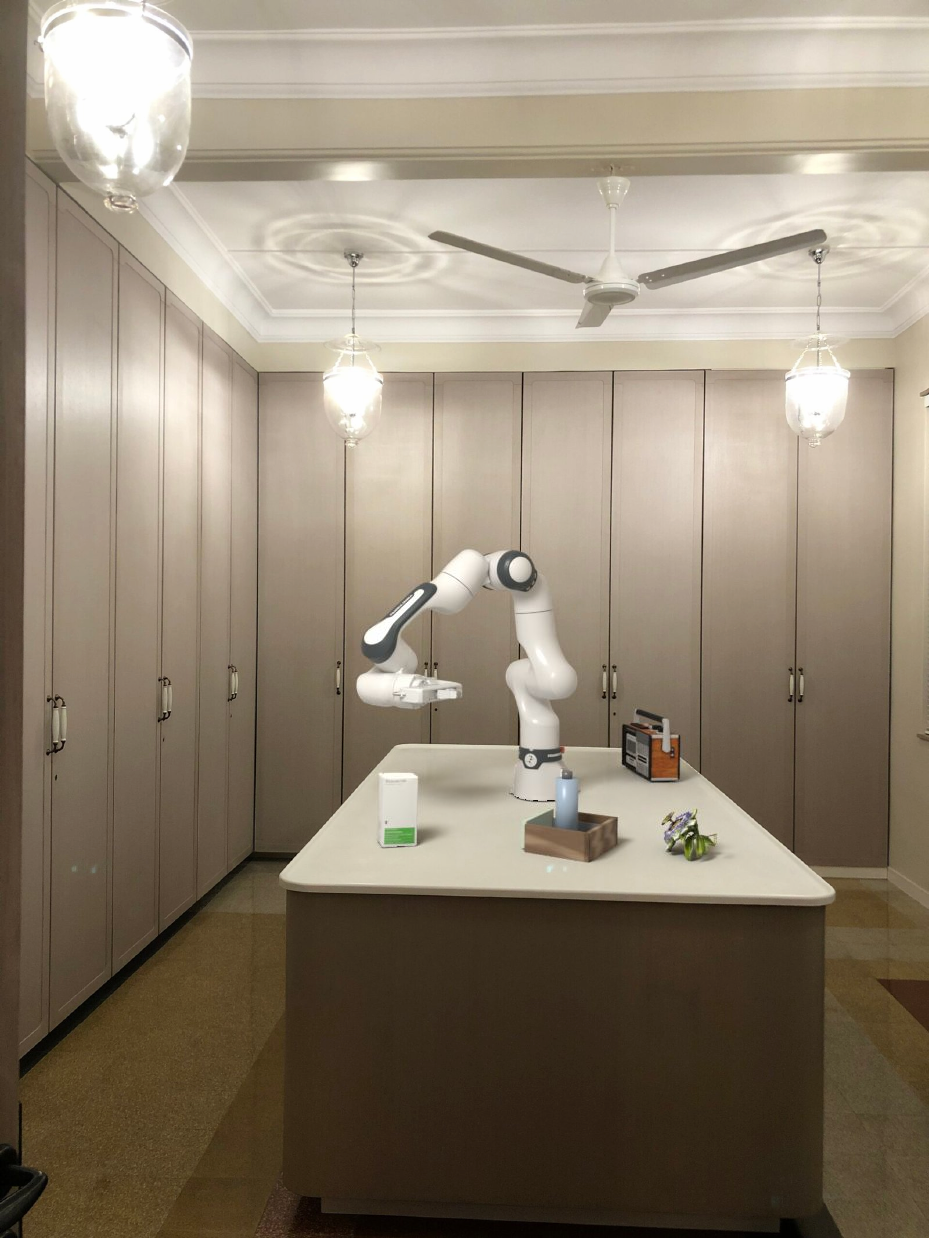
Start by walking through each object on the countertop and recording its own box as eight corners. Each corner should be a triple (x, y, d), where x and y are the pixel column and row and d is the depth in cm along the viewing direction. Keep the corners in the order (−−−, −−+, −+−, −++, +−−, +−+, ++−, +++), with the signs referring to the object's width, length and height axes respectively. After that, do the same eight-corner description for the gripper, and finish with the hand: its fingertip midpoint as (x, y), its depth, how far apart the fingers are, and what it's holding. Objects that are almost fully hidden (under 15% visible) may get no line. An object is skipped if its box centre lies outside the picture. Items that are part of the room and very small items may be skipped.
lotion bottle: (560, 837, 196) (560, 768, 196) (581, 840, 193) (581, 770, 193) (551, 842, 191) (552, 771, 191) (572, 844, 189) (573, 774, 189)
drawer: (548, 833, 202) (549, 807, 202) (609, 843, 195) (609, 816, 195) (521, 848, 190) (521, 820, 190) (584, 858, 182) (584, 830, 182)
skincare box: (381, 848, 189) (381, 778, 189) (376, 840, 196) (376, 772, 195) (418, 846, 192) (419, 776, 191) (412, 838, 198) (413, 771, 198)
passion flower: (669, 876, 189) (655, 824, 196) (718, 868, 189) (703, 816, 196) (672, 859, 180) (658, 806, 187) (724, 851, 179) (708, 797, 186)
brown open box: (556, 834, 203) (557, 808, 203) (617, 843, 195) (617, 817, 195) (524, 851, 188) (524, 824, 188) (588, 862, 180) (588, 833, 180)
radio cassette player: (620, 766, 293) (621, 708, 292) (649, 766, 294) (650, 708, 294) (650, 784, 264) (651, 719, 263) (682, 783, 265) (683, 719, 265)
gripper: (388, 681, 209) (436, 684, 202) (433, 676, 226) (479, 679, 219) (388, 707, 209) (436, 711, 202) (433, 700, 226) (479, 703, 219)
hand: (459, 694), depth 211 cm, fingers closed
